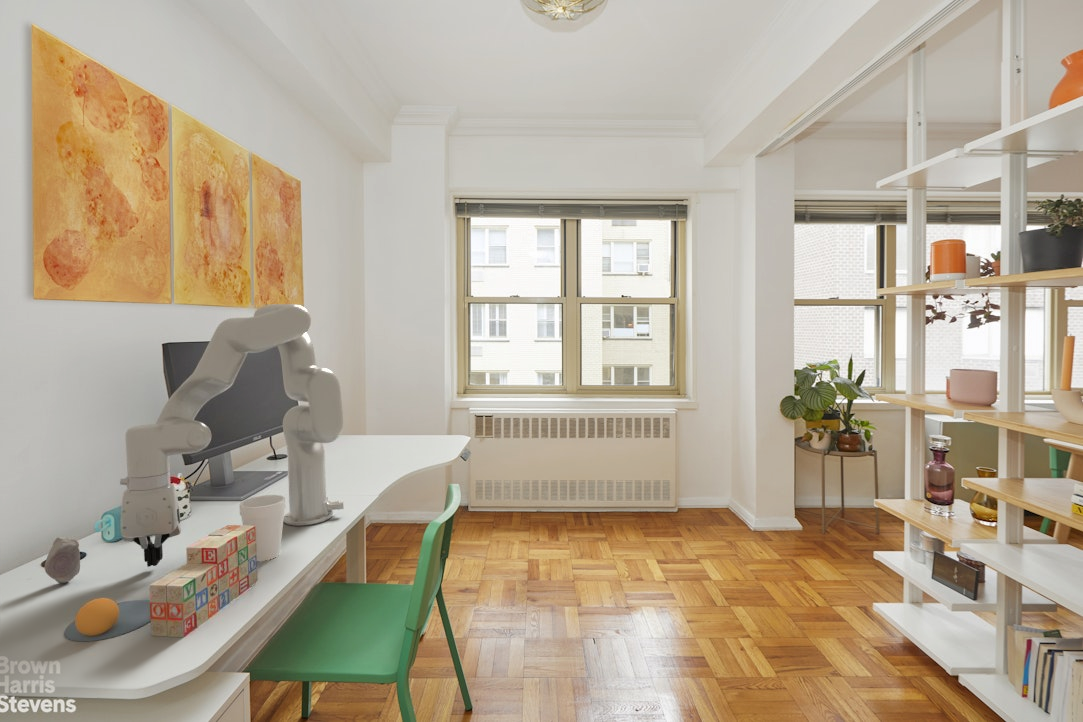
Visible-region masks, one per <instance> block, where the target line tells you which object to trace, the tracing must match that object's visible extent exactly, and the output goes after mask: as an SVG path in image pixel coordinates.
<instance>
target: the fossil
mask: <svg viewBox="0 0 1083 722" xmlns="http://www.w3.org/2000/svg"><path fill="white" fill-rule="evenodd" d="M44 563H45V564H44V572H45V573H46V575H47V576H49V577H50V578H51V579H52V580H55V582H57V583H59V584H67V583H69V582H71V581H72V580H73V579H74V578H75V577H76V576H77V575H79V573H80V571H81V570H80V569H81V550H80V542H79V540H78V539H76V538H70V537H62V536H61V537H60V536H57V538H55V540H54V541H53V543H52V546H51V547H50V550H49V552H48V554H47V556H46V560H45V562H44ZM66 582H67V583H66Z"/></svg>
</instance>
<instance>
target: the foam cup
mask: <svg viewBox="0 0 1083 722" xmlns="http://www.w3.org/2000/svg"><path fill="white" fill-rule="evenodd" d="M285 509H286V497H285V496H283V495H277V494H267V495H258V496H253V497H250V498H247V499H245V500H243V501H241V502H240V504H239V516H240V517H241V522H242V525H247V526H255V528H256V543H257V561H259V562H266V561H265V560H267V561H271V560H274V559H275V557H276V558H277V557H279V556H280V553H281V548H282V547H281V546H282V537H283V529H284V527H283V526H284V516H285ZM278 555H279V556H278ZM273 558H274V559H273ZM270 559H271V560H270Z"/></svg>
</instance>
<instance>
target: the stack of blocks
mask: <svg viewBox="0 0 1083 722" xmlns="http://www.w3.org/2000/svg"><path fill="white" fill-rule="evenodd" d="M185 549H186V563H185V564H183V565H181V566H180V567H179V568H176V569H175V570H172V571H171V572H169V573H168V574H166V575H164V576H163V577H161V578H159V579H158V580H155V581H154V582H152V583H150V584H149V600H150V618H151V622H150V631H151V634H150V635H151V637H169V638H170V637H171V638H184V637H186V636H187V635H189V634H190V633H191V632H193V630H195V629H196V628H198V627H200V626H202V624H204V623H206V622H207V620H208V619H209V620H210V618H212V617H213V616H215V615H216V614H217V613H218V612H220V610H222V609H223V608H225V607H226V606H227V605H229V604H230V603H231V602H233V601H234V600H235V599H236V598H238V597H239V596H240V595H242V594H243V593H245V592H246V591H247V590H249V589H250V588H251V587H252V585H253V584H254V583H255V584H256V582H257V581H259V579H258V576H259V575H258V562H257V543H256V528H255V526H247V525H243V524H242V525H239V524H238V525H235V524H234V525H233V524H231V525H229V524H228V525H226V526H224V527H221V528H220V529H216V530H215V531H213V532H211V533H209V534H208V535H207V536H204V537H202V538H200V539H199V540H197V541H195V542H194V543H192V544H190V545H188V546H186V547H185ZM257 583H258V582H257ZM255 584H254V585H255ZM254 585H253V586H254Z"/></svg>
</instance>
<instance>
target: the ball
mask: <svg viewBox="0 0 1083 722" xmlns="http://www.w3.org/2000/svg"><path fill="white" fill-rule="evenodd" d="M116 603H117V602H115V601H114V600H112V599H111V598H107V597H100V598H95V599H91V600H90V601H87V603H84V605H83V606H82V607H81V608H80V609H79V610H78V611H77V613H76V616H75V620H74V621H75V624H76V628H77V629H78V631H79V632H80V633H82V634H84V635H88V636H95V635H100V634H102V633H104V632H106V631H108V630H109V629H110V628H112V627H113V625H114V624H115V623H116V621H117V619H118V617H119V608H118V605H117V604H116Z"/></svg>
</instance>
